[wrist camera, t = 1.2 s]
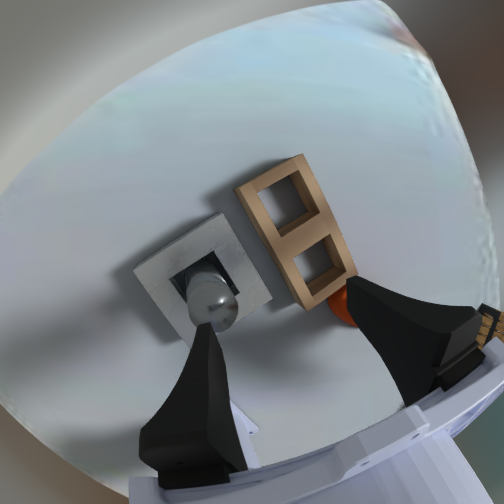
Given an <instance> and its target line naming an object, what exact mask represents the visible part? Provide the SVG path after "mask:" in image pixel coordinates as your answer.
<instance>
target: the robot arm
mask: <svg viewBox="0 0 504 504" xmlns="http://www.w3.org/2000/svg"><path fill="white" fill-rule="evenodd" d="M346 297H347V310H348V312H349V314H350V316H351V317H352V319H353V321H354V322H355V324H356V325H357V326H358V328H359V329H360V330H361V332H362V333H363V334H364V335H365V337H366V338H367V339H368V340H369V342H370V343H371V344H372V345H373V347H374V348H375V349H376V351H377V352H378V353H379V355H380V356H381V358H382V360H383V361H384V363H385V365H386V366H387V368H388V370H389V372H390V374H391V376H392V377H393V379H394V381H395V383H396V385H397V387H398V389H399V392H400V394H401V396H402V398H403V401H404V403H405V405H406V408H404V409H402V410H400V411H398V412H397V413H395V414H393V415H391V416H389V417H387V418H386V419H384V420H382V421H380V422H378V423H376V424H374V425H372V426H370V427H368V428H366V429H363V430H361V431H359V432H357V433H355V434H353V435H351V436H349V437H347V438H345V439H344V440H341V441H339V442H336V443H334V444H331V445H329V446H326V447H324V448H321V449H318V450H316V451H313V452H310V453H307V454H304V455H301V456H298V457H295V458H292V459H288V460H285V461H282V462H278V463H275V464H271V465H267V466H263V467H261V464H260V462H259V460H258V457H257V455H256V452H255V450H254V447H253V445H252V442H251V440H250V437H249V436H251V435H253V434H255V433H257V432H258V431H259V429H258V427H257V426H256V425H255V424H254V423H253V422H252V421H251V420H250V419H249V418H248V417H247V416H246V415H245V414H244V413H243V412H242V411H241V410H240V409H239V408H238V407H237V406H236V405H235V404H234V403H233V402H232V401H231V400H230V397H229V389H228V381H227V372H226V365H225V361H224V357H223V353H222V349H221V347H220V344H219V342H218V340H217V337H216V335H215V332H214V330H213V328H212V325H211V323H210V322H207V323H204V324H200V325H198V326H197V329H196V333H195V337H194V341H193V344H192V347H191V350H190V353H189V356H188V359H187V361H186V364H185V366H184V368H183V371H182V373H181V375H180V377H179V379H178V381H177V383H176V385H175V387H174V388H173V390H172V392H171V393H170V395H169V396H168V398H167V399H166V401H165V402H164V404H163V405H162V406H161V408H160V409H159V410H158V411H157V413H156V414H155V415H154V416H153V417H152V418H151V419H150V420H149V422H148V423H147V424H146V425H145V426H144V427H143V428H142V429H141V432H140V437H139V457H140V459H141V460H142V461H143V462H144V463H145V464H147V465H148V466H150V467H151V468H153V469H155V470H156V471H158V478H157V477H129V504H493V502H492V500H491V498H490V497H489V495H488V494H487V492H486V490H485V489H484V487H483V485H482V484H481V482H480V481H479V479H478V477H477V476H476V474H475V473H474V471H473V470H472V468H471V467H470V465H469V464H468V462H467V461H466V459H465V457H464V456H463V454H462V453H461V451H460V450H459V448H458V447H457V446H456V444H455V443H454V441H453V440H452V438H454V436H456V435H457V434H458V433H460V432H461V431H462V430H463V429H464V428H465V427H466V426H468V425H469V424H470V423H471V422H472V421H473V420H474V419H475V418H476V417H477V416H479V415H480V414H481V413H482V412H483V411H484V410H485V409H486V408H487V407H488V406H489V405H490V404H491V403H492V402H493V401H494V400H495V399H496V398H497V397H498V396H499V395H500V394H501V393H502V392H503V391H504V344H503V343H502V342H501V341H500V340H499V339H498V338H497V337H494V338H493V339H492V340H491V341H489V342H488V343H487V344H486V345H485V346H484V347H483V348H482V350H480V349H479V348H478V346H479V343H478V342H477V341H476V338H477V335H478V333H479V331H480V328H481V325H482V320H483V317H482V315H481V314H480V313H479V312H478V311H477V310H475V309H474V308H473V307H472V306H449V305H440V304H434V303H429V302H424V301H420V300H417V299H413V298H410V297H407V296H404V295H401V294H398V293H396V292H393V291H391V290H388V289H386V288H384V287H381V286H379V285H377V284H375V283H373V282H370V281H368V280H366V279H364V278H362V277H359V276H357V275H355V276H352V277H350V278H347V279H346Z"/></svg>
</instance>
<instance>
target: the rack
mask: <svg viewBox="0 0 504 504" xmlns="http://www.w3.org/2000/svg"><path fill="white" fill-rule="evenodd" d="M288 175H289V176H290V178H291V180H292V182H293V184H294V186H295V188H296V190H297V192H298V193H299V195H300V197H301V199H302V201H303V203H304V205H305V207H306V209H307V211H308V212H306V213H305V214H303V215H301V216H300V217H298V218H297V219H295V220H293V221H292V222H290V223H289V224H287V225H285V226H284V227H282V228H281V229H279V230H278V231H277V229H276V227H275V225H274V223H273V222H272V220H271V218H270V216H269V214H268V212H267V211H266V209H265V207H264V205H263V203H262V202H261V200H260V198H259V196H258V194H257V193H258V192H260V191H261V190H263V189H265V188H267V187H268V186H270V185H272V184H274V183H275V182H277V181H279V180H281V179H282V178H284V177H286V176H288ZM233 191H234V192H235V194H236V196H237V198H238V199H239V201H240V203H241V205H242V206H243V208H244V210H245V212H246V214H247V215H248V217H249V219H250V221H251V222H252V224H253V226H254V228H255V229H256V231H257V233H258V235H259V236H260V238H261V240H262V242H263V244H264V245H265V247H266V249H267V251H268V252H269V254H270V256H271V258H272V260H273V261H274V263H275V265H276V267H277V269H278V270H279V272H280V274H281V276H282V278H283V279H284V281H285V283H286V285H287V287H288V288H289V290H290V292H291V294H292V296H293V297H294V299H295V301H296V303H297V304H298V305H300V306H301V307H302V308H303V309H305V310H306V311H307V312H308V311H309V310H311V309H312V308H313V307H315V306H316V305H318V304H319V303H320V302H322V301H323V300H325V299H326V298H327V297H329V296H330V295H331V294H333V293H334V292H335V291H337V290H338V289H339V288H341V287H342V286H343V285H345V284H346V279H347V278H350V277H352V276H355V275H358V272H357V269H356V267H355V264H354V262H353V260H352V257H351V255H350V252H349V250H348V248H347V245H346V243H345V241H344V238H343V236H342V234H341V231H340V229H339V227H338V225H337V222H336V220H335V218H334V216H333V214H332V211H331V209H330V207H329V205H328V203H327V201H326V199H325V197H324V195H323V192H322V190H321V188H320V186H319V184H318V182H317V180H316V178H315V176H314V174H313V172H312V170H311V168H310V166H309V165H308V163H307V161H306V159H305V157H304V155H303V153H302V154H299V155H296V156H294V157H291V158H289V159H287V160H285V161H283V162H282V163H280V164H278V165H276V166H274V167H272V168H270V169H269V170H267V171H265V172H263V173H261V174H260V175H258V176H256V177H254V178H252V179H251V180H249V181H247V182H245V183H244V184H242V185H240V186H238V187H237V188H235V189H233ZM320 240H322V242H323V244H324V246H325V249H326V251H327V253H328V255H329V257H330V259H331V262H332V264H333V266H332V267H331V268H330V269H328V270H327V271H325V272H324V273H323V274H321V275H320V276H318V277H317V278H316V279H314V280H313V281H311V282H310V283H308V284H307V285H306V284H305V282H304V280H303V278H302V276H301V274H300V272H299V270H298V269H297V267H296V265H295V263H294V261H293V258H294V257H296V256H297V255H299V254H300V253H302V252H303V251H305V250H306V249H308V248H309V247H311V246H312V245H314V244H315V243H317V242H318V241H320Z"/></svg>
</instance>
